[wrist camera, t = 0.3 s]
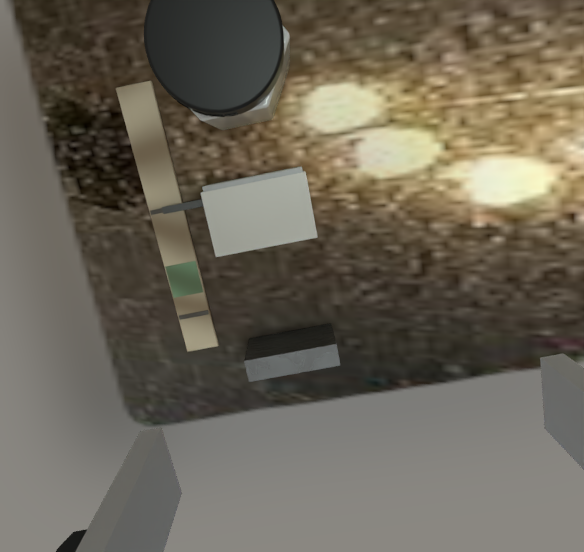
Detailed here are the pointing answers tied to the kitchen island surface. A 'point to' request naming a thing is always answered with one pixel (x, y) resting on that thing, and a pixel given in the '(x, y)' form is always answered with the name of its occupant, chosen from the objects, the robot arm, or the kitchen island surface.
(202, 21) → the jar
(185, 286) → the strip
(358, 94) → the kitchen island surface
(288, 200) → the carriage
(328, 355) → the two-tone gray brick
